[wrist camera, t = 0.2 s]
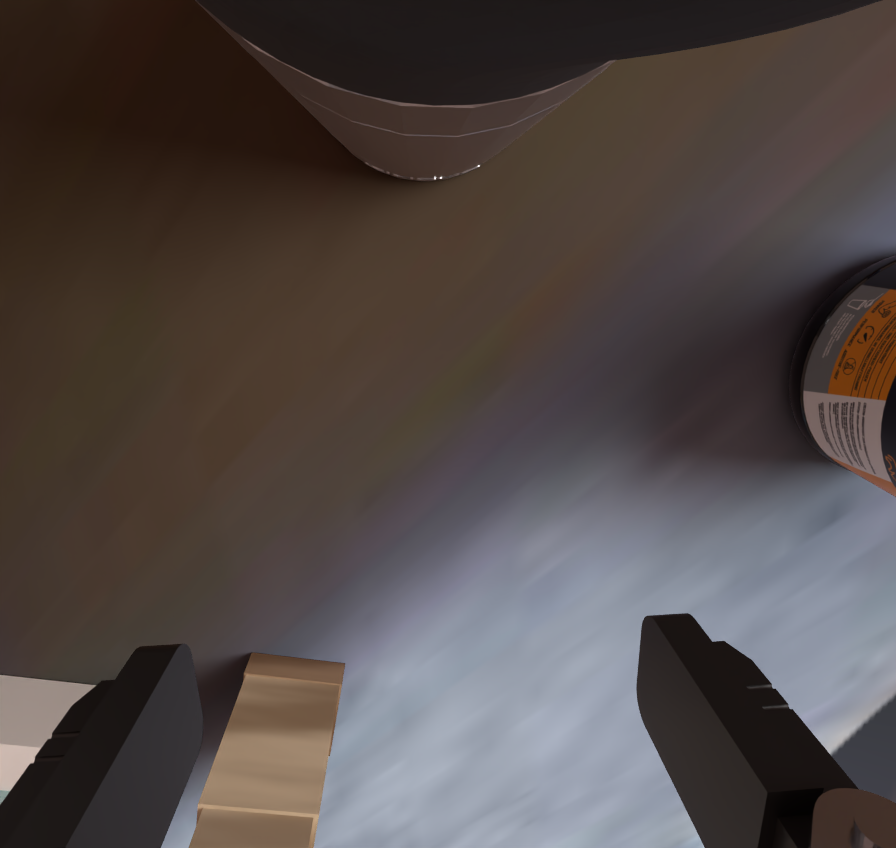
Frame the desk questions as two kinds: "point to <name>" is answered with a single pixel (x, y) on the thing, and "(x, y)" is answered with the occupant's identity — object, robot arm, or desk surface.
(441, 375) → the desk surface
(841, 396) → the supplement container
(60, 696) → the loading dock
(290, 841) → the wooden block tower
